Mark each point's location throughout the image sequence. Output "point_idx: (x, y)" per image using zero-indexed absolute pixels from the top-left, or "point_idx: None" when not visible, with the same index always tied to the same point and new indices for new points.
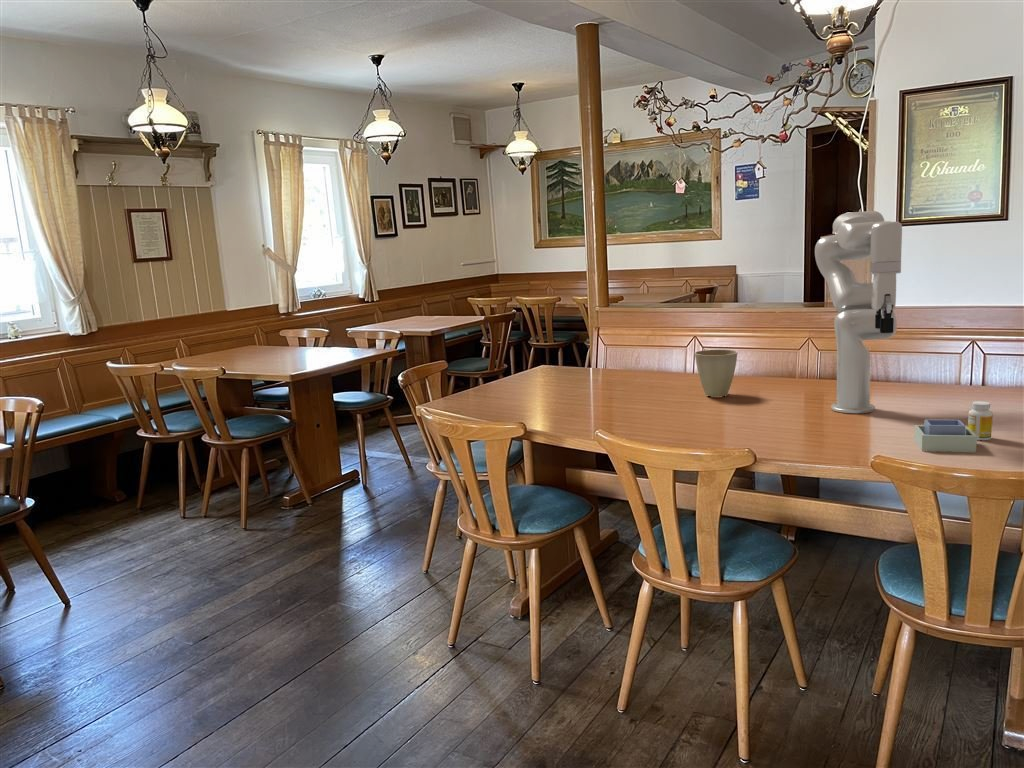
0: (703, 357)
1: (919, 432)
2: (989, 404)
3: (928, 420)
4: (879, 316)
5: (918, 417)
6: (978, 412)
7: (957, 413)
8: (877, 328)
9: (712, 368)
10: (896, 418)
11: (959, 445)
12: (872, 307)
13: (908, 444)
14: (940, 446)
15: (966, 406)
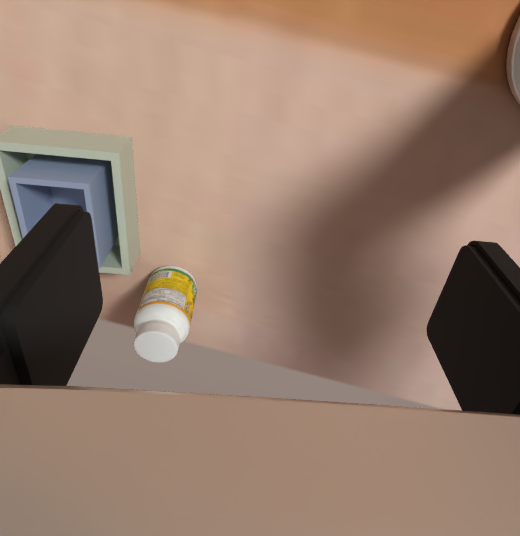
0: None
1: (34, 144)
2: (144, 357)
3: (84, 192)
4: (515, 369)
5: (403, 218)
6: (139, 322)
7: (422, 310)
8: (463, 254)
9: None
10: (406, 157)
11: None
12: (489, 423)
13: (81, 108)
14: None
15: None
